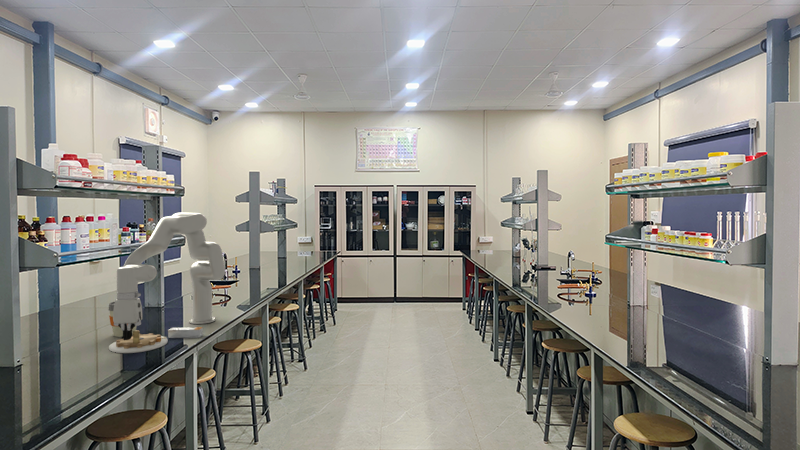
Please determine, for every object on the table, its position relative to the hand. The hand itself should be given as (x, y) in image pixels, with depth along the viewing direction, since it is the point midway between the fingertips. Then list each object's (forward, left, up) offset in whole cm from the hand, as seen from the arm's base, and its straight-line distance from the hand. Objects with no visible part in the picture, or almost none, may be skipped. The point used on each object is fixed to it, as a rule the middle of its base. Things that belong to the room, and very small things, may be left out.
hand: (127, 339), depth 190 cm
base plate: (-6, +2, -4) cm, 7 cm away
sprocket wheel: (-6, +2, -3) cm, 7 cm away
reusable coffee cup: (-24, -13, -5) cm, 27 cm away
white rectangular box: (-18, +17, -5) cm, 25 cm away
